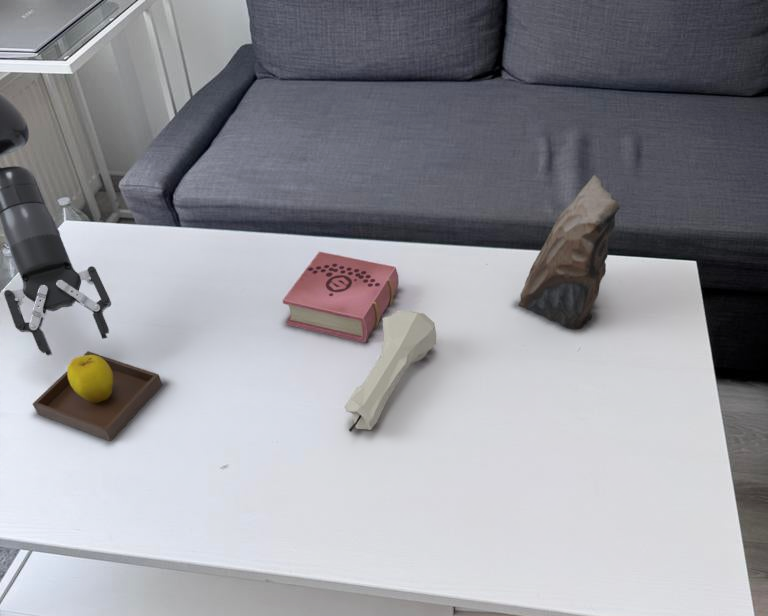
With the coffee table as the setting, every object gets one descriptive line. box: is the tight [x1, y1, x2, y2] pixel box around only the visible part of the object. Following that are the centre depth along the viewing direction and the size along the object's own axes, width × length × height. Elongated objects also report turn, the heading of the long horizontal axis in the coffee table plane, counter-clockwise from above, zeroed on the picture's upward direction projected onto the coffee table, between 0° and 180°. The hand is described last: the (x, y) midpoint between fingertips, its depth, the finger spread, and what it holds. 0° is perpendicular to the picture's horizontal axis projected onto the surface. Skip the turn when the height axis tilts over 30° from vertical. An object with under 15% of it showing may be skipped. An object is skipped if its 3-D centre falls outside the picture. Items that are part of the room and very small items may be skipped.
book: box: [282, 251, 399, 344], centre depth 126 cm, size 14×15×5 cm
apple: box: [66, 355, 113, 403], centre depth 114 cm, size 6×6×8 cm
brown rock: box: [518, 174, 621, 330], centre depth 118 cm, size 13×13×20 cm
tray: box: [32, 350, 163, 442], centre depth 116 cm, size 14×13×2 cm
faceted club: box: [344, 309, 437, 432], centre depth 113 cm, size 9×8×25 cm
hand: (77, 346), depth 115 cm, fingers open, 8 cm apart
